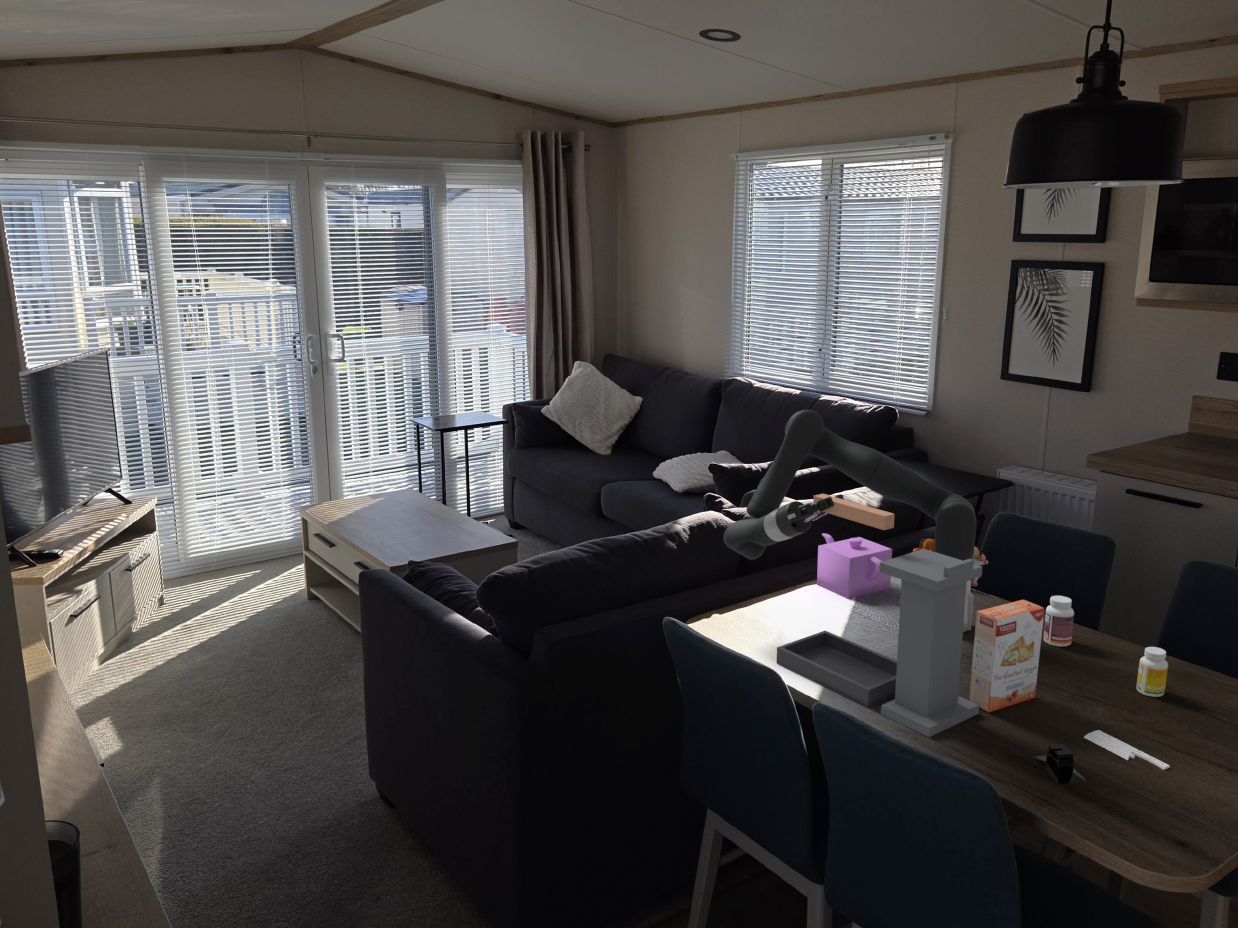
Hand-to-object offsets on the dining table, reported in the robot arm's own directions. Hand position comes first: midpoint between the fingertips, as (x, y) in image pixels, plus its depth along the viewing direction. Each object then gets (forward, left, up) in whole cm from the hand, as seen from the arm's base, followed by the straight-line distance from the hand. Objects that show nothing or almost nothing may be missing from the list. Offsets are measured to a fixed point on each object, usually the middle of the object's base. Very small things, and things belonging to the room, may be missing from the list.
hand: (837, 500), depth 215 cm
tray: (-2, +4, -40) cm, 40 cm away
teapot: (-22, -51, -40) cm, 68 cm away
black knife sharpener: (-29, +47, -41) cm, 68 cm away
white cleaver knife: (-44, +43, -41) cm, 73 cm away
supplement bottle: (-64, +20, -40) cm, 78 cm away
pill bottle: (-58, -7, -40) cm, 71 cm away
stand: (-13, +22, -40) cm, 47 cm away
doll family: (-48, -49, -40) cm, 80 cm away
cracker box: (-31, +20, -40) cm, 55 cm away
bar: (-2, +4, -3) cm, 5 cm away
